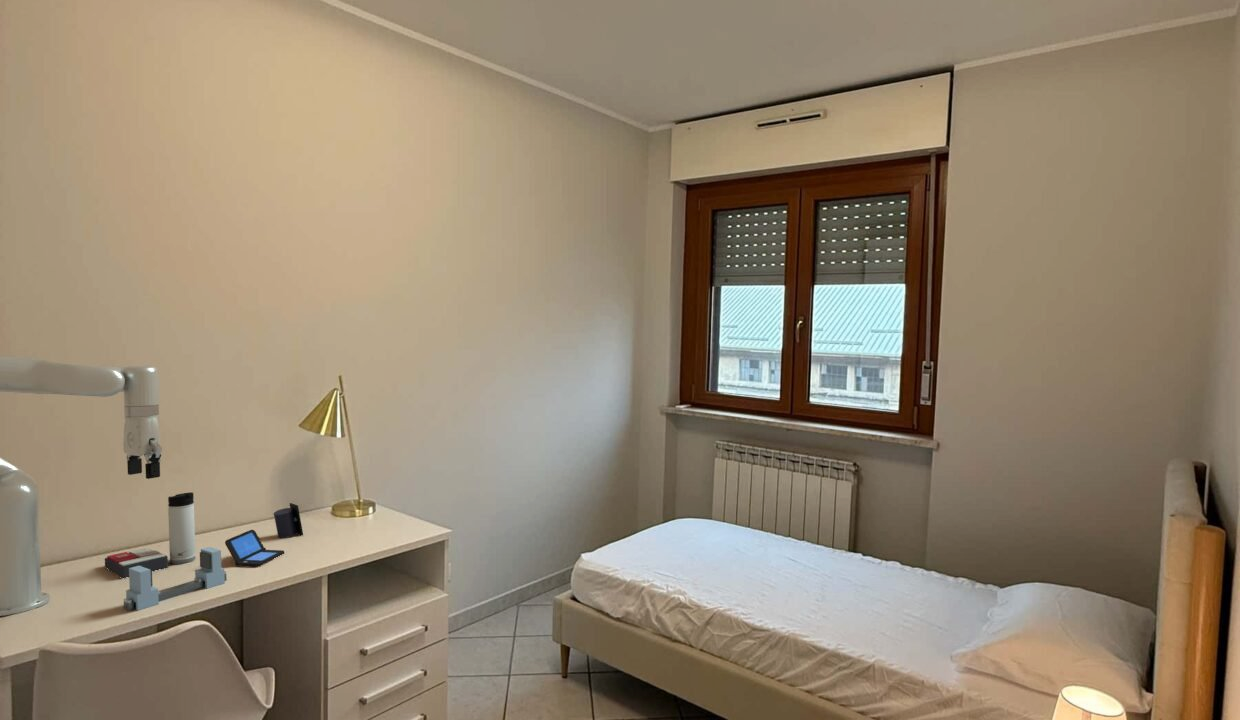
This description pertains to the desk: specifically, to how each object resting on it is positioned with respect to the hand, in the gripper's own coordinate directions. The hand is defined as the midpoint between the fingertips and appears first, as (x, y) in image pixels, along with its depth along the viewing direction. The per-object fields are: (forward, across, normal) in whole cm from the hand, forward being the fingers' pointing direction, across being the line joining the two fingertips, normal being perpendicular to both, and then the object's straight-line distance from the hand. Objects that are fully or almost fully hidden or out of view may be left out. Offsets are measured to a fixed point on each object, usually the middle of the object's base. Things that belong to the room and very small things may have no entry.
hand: (143, 475), depth 180 cm
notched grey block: (+28, +18, +7) cm, 34 cm away
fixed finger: (+28, +18, -9) cm, 35 cm away
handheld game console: (+29, +9, +25) cm, 39 cm away
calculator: (+29, -14, +3) cm, 32 cm away
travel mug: (+28, -8, +13) cm, 32 cm away
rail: (+28, +18, -1) cm, 34 cm away
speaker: (+28, -4, +43) cm, 52 cm away
